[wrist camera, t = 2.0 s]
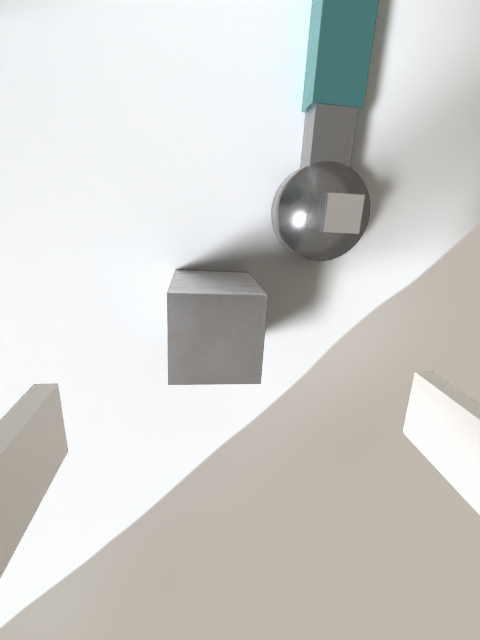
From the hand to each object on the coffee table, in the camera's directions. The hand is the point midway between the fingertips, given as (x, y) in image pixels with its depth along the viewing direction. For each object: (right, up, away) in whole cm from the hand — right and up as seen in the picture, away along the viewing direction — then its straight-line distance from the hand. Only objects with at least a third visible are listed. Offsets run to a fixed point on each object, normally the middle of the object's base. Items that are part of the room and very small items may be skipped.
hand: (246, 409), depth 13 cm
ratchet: (+6, +19, +13) cm, 23 cm away
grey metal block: (-3, +4, +16) cm, 17 cm away
